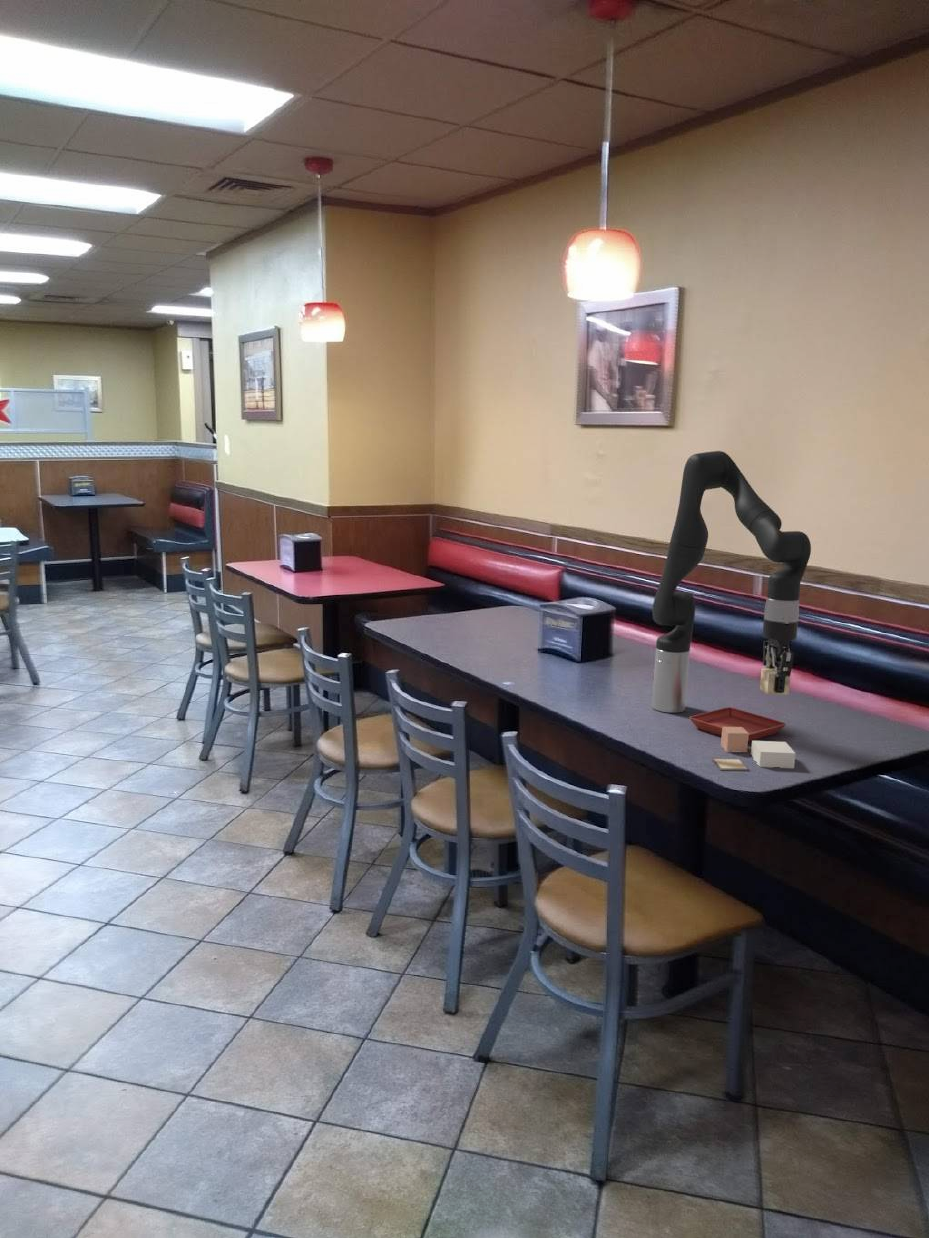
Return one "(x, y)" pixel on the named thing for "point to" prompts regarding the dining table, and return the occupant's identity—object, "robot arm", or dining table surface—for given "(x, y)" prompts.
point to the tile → (730, 764)
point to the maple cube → (772, 682)
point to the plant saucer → (737, 722)
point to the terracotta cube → (734, 739)
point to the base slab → (773, 754)
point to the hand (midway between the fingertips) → (774, 688)
